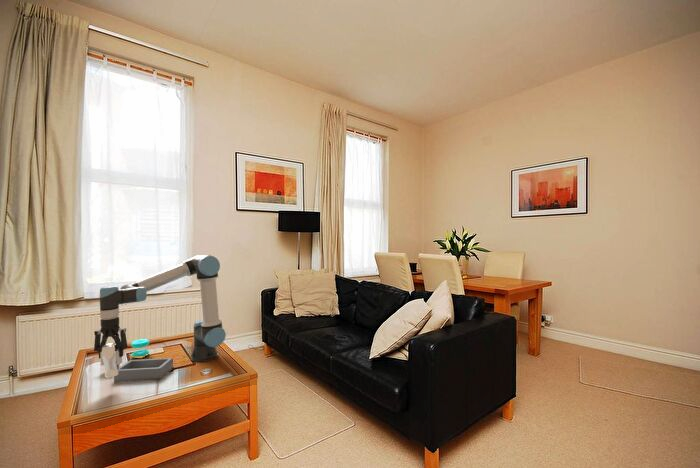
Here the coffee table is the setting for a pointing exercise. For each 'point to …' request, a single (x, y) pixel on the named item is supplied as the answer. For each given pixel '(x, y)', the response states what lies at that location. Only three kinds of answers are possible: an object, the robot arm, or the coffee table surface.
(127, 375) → the open box
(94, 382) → the coffee table surface
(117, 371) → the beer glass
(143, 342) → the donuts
